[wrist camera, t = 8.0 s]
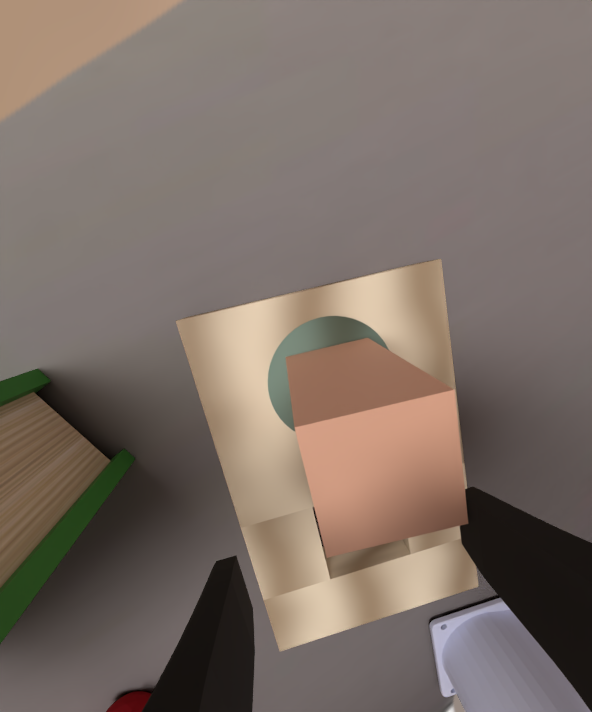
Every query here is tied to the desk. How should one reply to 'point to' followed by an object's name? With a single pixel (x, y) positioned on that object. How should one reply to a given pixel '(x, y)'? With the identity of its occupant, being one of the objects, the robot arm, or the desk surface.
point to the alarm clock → (130, 702)
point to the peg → (376, 445)
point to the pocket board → (283, 457)
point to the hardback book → (43, 490)
